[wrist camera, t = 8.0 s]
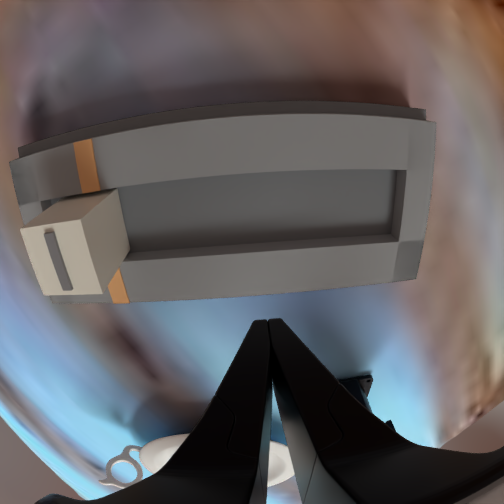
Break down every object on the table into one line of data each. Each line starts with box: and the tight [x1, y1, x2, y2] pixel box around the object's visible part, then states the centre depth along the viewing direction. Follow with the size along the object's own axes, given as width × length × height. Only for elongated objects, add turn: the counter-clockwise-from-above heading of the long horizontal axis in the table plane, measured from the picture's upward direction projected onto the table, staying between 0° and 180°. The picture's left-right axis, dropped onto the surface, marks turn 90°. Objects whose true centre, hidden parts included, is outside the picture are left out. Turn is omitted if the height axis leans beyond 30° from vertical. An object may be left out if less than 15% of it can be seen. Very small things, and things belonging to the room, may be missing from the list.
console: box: [9, 101, 436, 304], centre depth 18 cm, size 12×26×3 cm, turn 93°
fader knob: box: [20, 188, 130, 295], centre depth 15 cm, size 4×4×5 cm
